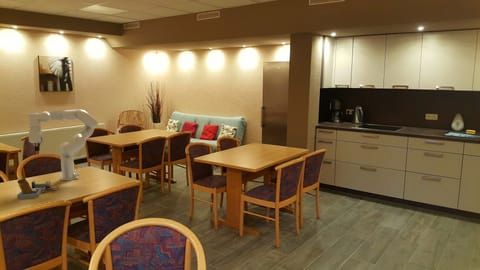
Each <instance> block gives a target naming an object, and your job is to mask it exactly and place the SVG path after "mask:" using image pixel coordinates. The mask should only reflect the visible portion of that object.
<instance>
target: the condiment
mask: <svg viewBox="0 0 480 270" xmlns="http://www.w3.org/2000/svg"><path fill="white" fill-rule="evenodd" d="M17 184H18V187H19V189H20V190H21V191H22V192H23V194H32V193H34V192H36V191H37V190H35V189H36V188H34V189H33V190H32V186H31V185H30V183H29V181H28V180H27V178H25V177H23V178H19V179H18V180H17ZM21 191H20V192H21Z"/></svg>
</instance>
